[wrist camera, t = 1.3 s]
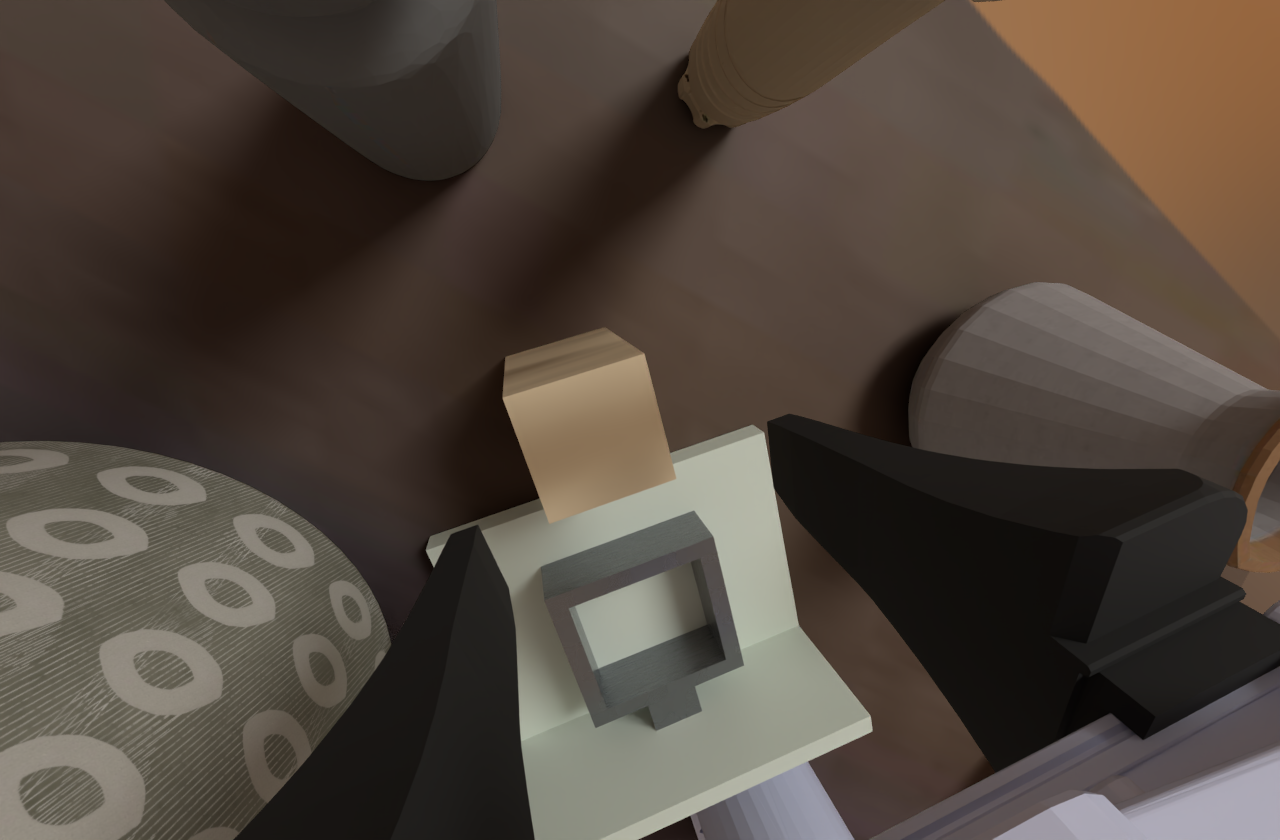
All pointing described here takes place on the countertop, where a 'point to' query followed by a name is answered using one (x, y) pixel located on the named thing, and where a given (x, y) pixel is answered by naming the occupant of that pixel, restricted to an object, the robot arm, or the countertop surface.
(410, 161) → the bottle
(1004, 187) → the countertop surface
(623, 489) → the oak post
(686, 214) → the countertop surface
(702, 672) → the grey square frame
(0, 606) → the planter
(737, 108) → the handle
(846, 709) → the mounting board
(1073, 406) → the coffee pot
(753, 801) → the robot arm
